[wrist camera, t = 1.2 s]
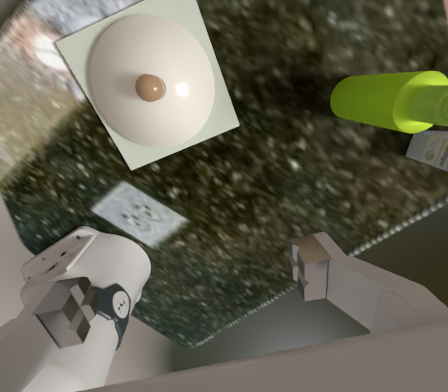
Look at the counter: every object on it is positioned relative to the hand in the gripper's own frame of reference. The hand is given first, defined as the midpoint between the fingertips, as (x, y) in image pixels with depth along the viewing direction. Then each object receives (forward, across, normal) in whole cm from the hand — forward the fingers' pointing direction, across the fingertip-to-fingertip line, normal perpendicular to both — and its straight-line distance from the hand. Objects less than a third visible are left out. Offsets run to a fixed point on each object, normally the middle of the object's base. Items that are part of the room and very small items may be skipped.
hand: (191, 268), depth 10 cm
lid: (+29, +4, -7) cm, 30 cm away
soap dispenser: (+29, -24, -1) cm, 38 cm away
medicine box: (+29, -38, +8) cm, 49 cm away
